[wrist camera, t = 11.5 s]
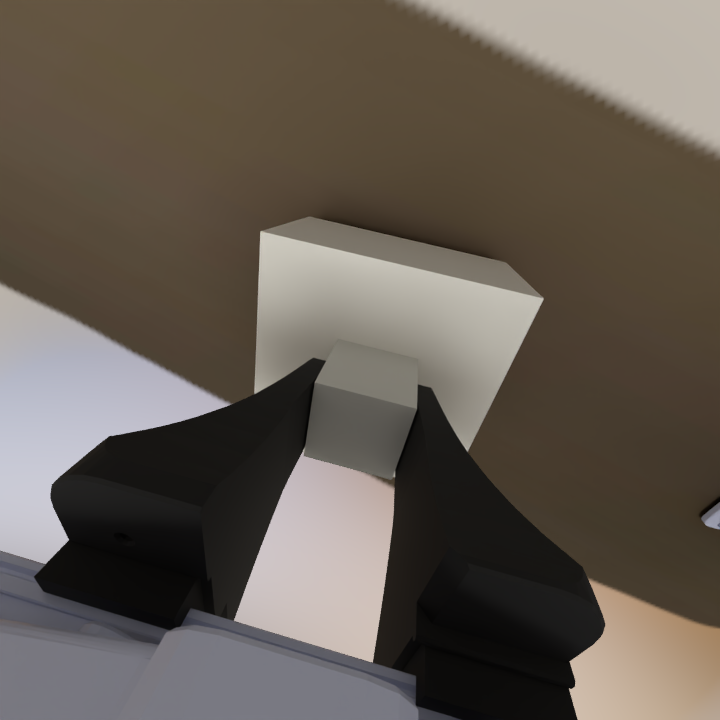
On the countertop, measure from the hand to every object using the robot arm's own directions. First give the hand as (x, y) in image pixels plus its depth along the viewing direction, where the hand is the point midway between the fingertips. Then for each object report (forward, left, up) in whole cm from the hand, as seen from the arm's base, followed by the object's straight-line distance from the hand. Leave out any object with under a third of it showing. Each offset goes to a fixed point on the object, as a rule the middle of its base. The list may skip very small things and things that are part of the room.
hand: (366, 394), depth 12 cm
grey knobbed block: (0, 0, -6) cm, 6 cm away
